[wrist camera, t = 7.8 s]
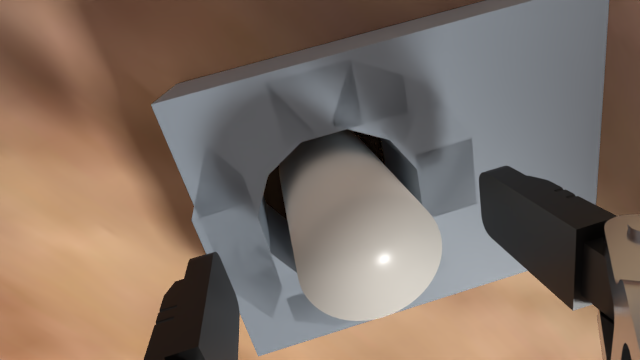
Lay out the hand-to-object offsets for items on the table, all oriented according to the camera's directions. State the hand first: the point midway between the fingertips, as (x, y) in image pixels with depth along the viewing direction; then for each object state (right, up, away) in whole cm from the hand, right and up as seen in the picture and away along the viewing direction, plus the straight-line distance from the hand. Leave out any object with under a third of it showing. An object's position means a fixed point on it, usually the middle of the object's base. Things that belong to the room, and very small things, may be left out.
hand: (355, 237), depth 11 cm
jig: (+1, +3, +5) cm, 6 cm away
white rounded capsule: (-1, +2, +5) cm, 6 cm away
